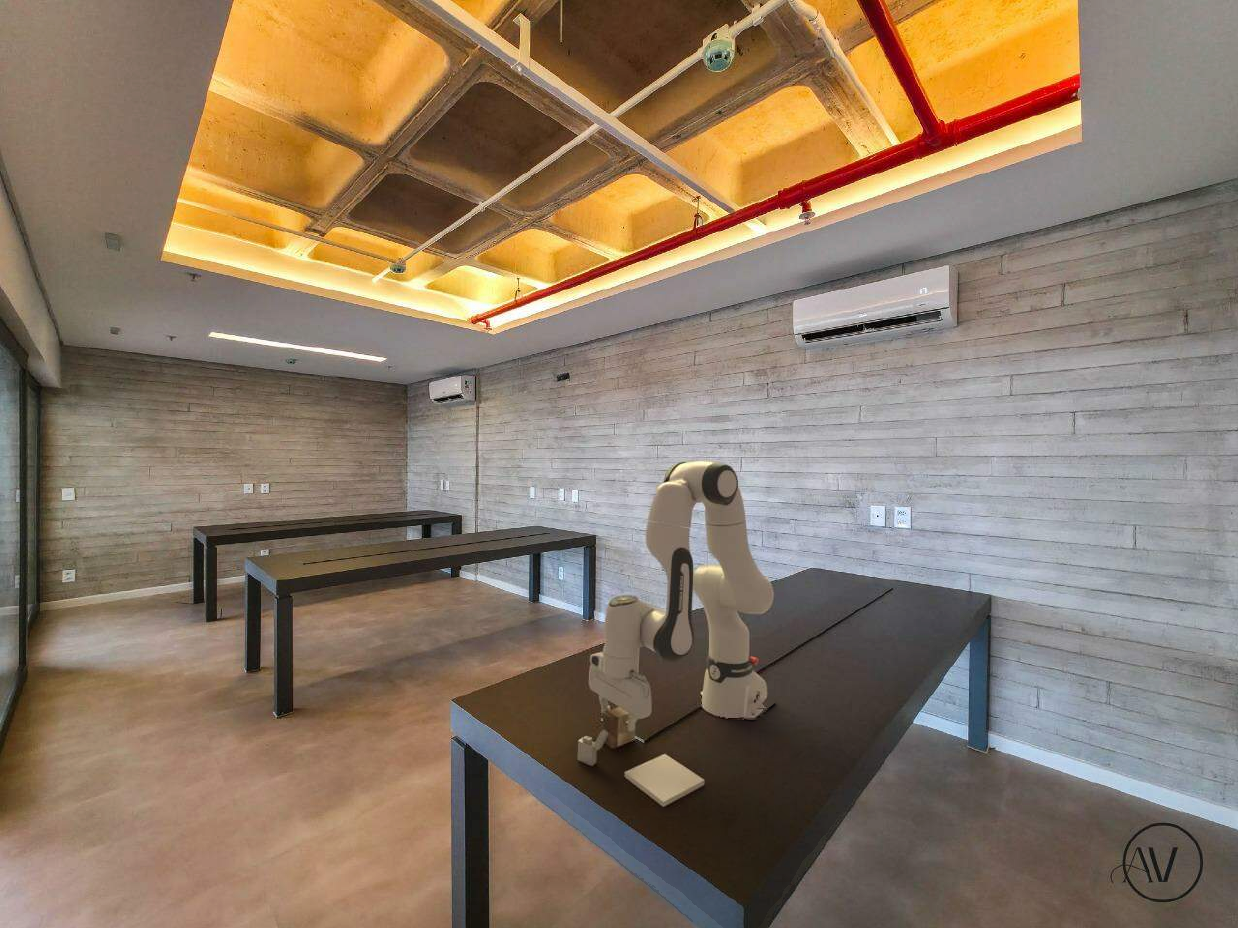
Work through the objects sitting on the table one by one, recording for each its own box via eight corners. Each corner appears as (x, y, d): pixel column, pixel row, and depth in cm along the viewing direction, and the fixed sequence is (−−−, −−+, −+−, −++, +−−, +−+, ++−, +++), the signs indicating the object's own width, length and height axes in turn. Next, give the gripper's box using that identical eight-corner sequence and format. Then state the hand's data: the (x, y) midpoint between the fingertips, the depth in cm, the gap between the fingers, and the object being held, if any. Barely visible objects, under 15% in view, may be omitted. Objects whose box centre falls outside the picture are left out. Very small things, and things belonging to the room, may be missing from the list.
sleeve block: (624, 732, 127) (625, 704, 127) (634, 739, 124) (636, 711, 124) (601, 741, 123) (602, 712, 123) (612, 749, 120) (613, 719, 120)
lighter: (577, 759, 115) (578, 724, 115) (581, 756, 116) (582, 721, 116) (603, 770, 111) (604, 733, 111) (607, 766, 113) (609, 730, 113)
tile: (664, 758, 117) (664, 753, 117) (704, 784, 107) (704, 779, 107) (624, 776, 109) (624, 771, 109) (663, 806, 100) (663, 801, 100)
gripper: (659, 676, 117) (656, 736, 117) (605, 649, 133) (602, 702, 133) (638, 681, 113) (635, 744, 113) (585, 653, 129) (582, 708, 129)
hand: (617, 721), depth 123 cm, fingers open, 8 cm apart
